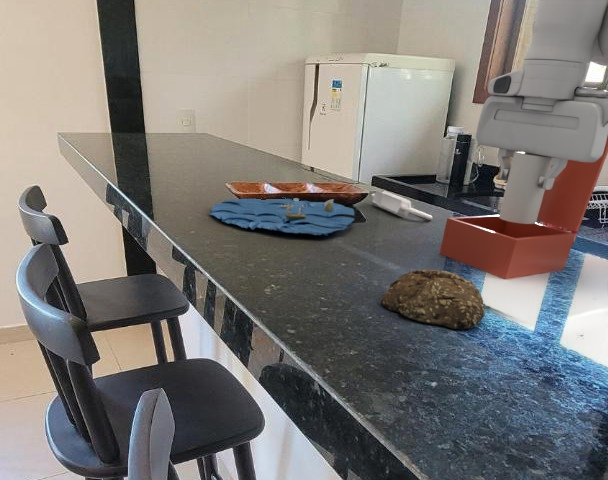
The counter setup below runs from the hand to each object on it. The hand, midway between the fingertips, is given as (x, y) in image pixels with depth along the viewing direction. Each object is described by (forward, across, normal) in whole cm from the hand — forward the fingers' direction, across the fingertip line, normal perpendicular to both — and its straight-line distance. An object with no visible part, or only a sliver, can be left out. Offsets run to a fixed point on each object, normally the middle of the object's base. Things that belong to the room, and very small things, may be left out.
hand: (523, 184), depth 83 cm
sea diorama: (+13, +36, +20) cm, 44 cm away
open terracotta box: (+13, 0, 0) cm, 13 cm away
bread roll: (+13, -10, +27) cm, 32 cm away
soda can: (+14, +5, -23) cm, 27 cm away
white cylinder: (+6, 0, -1) cm, 6 cm away
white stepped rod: (+14, +38, -12) cm, 42 cm away
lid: (-2, 0, -8) cm, 8 cm away
